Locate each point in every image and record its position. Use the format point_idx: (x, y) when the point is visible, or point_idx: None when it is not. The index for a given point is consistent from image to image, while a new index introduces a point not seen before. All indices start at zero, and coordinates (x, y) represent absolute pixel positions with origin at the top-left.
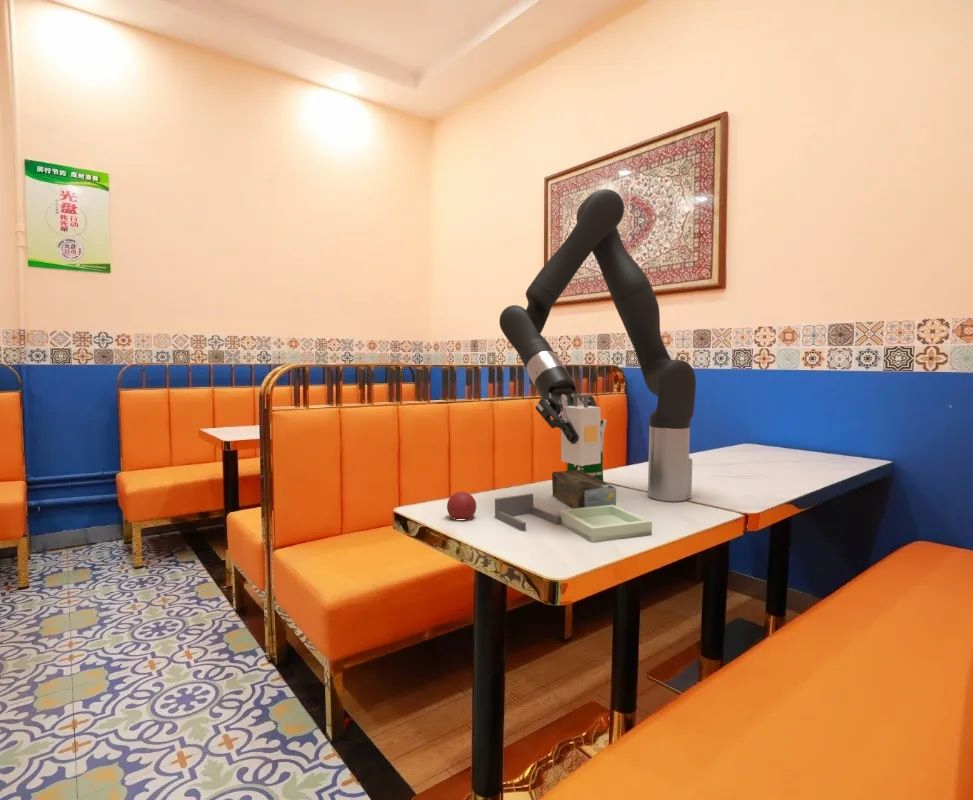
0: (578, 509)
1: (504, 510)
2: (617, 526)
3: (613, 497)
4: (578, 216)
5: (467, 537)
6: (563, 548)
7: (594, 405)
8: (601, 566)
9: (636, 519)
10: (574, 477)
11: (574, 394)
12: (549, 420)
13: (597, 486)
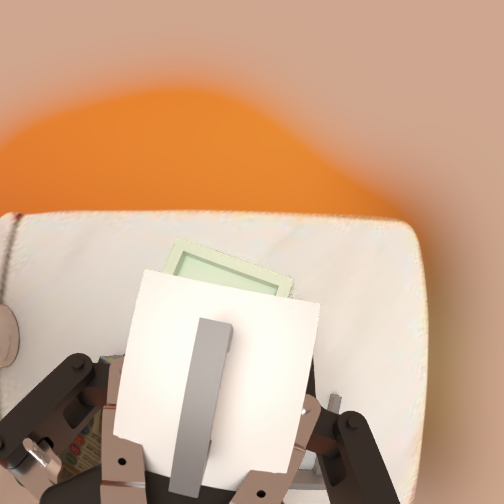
0: None
1: (306, 474)
2: (244, 261)
3: (113, 358)
4: None
5: (414, 410)
6: (344, 292)
7: (33, 406)
8: (349, 216)
9: (176, 268)
10: None
11: (199, 483)
12: (343, 468)
13: None
